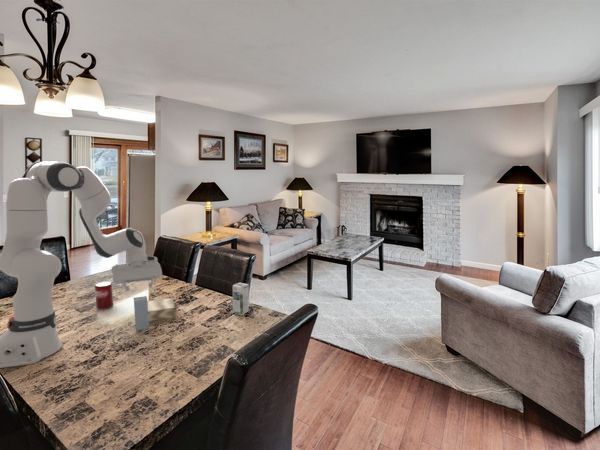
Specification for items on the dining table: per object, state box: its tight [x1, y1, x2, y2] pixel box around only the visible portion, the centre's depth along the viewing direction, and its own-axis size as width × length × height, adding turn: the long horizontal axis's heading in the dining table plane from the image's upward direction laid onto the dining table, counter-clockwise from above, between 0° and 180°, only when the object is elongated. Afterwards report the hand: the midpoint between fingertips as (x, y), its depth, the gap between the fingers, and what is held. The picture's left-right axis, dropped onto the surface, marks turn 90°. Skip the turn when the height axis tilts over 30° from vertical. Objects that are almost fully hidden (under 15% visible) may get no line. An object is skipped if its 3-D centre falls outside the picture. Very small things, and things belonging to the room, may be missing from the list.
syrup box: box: [232, 282, 250, 316], centre depth 156 cm, size 6×6×14 cm
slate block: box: [133, 295, 150, 332], centre depth 139 cm, size 5×5×13 cm
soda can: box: [94, 281, 114, 310], centre depth 160 cm, size 7×7×12 cm
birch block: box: [147, 297, 176, 322], centre depth 154 cm, size 13×13×5 cm
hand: (139, 289), depth 145 cm, fingers open, 8 cm apart
